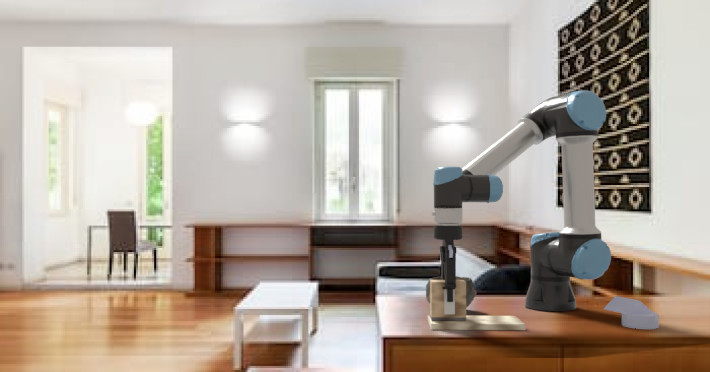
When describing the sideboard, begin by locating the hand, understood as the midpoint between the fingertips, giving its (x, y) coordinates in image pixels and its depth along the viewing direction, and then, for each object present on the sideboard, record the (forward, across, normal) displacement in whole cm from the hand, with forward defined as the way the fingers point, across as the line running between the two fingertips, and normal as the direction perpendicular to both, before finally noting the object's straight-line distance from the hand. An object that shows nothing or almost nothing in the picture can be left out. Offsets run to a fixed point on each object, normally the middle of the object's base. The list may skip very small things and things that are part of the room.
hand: (448, 312), depth 167 cm
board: (+3, 0, +7) cm, 8 cm away
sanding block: (+2, 0, 0) cm, 2 cm away
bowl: (+4, -21, +3) cm, 22 cm away
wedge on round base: (+4, -3, +50) cm, 50 cm away
